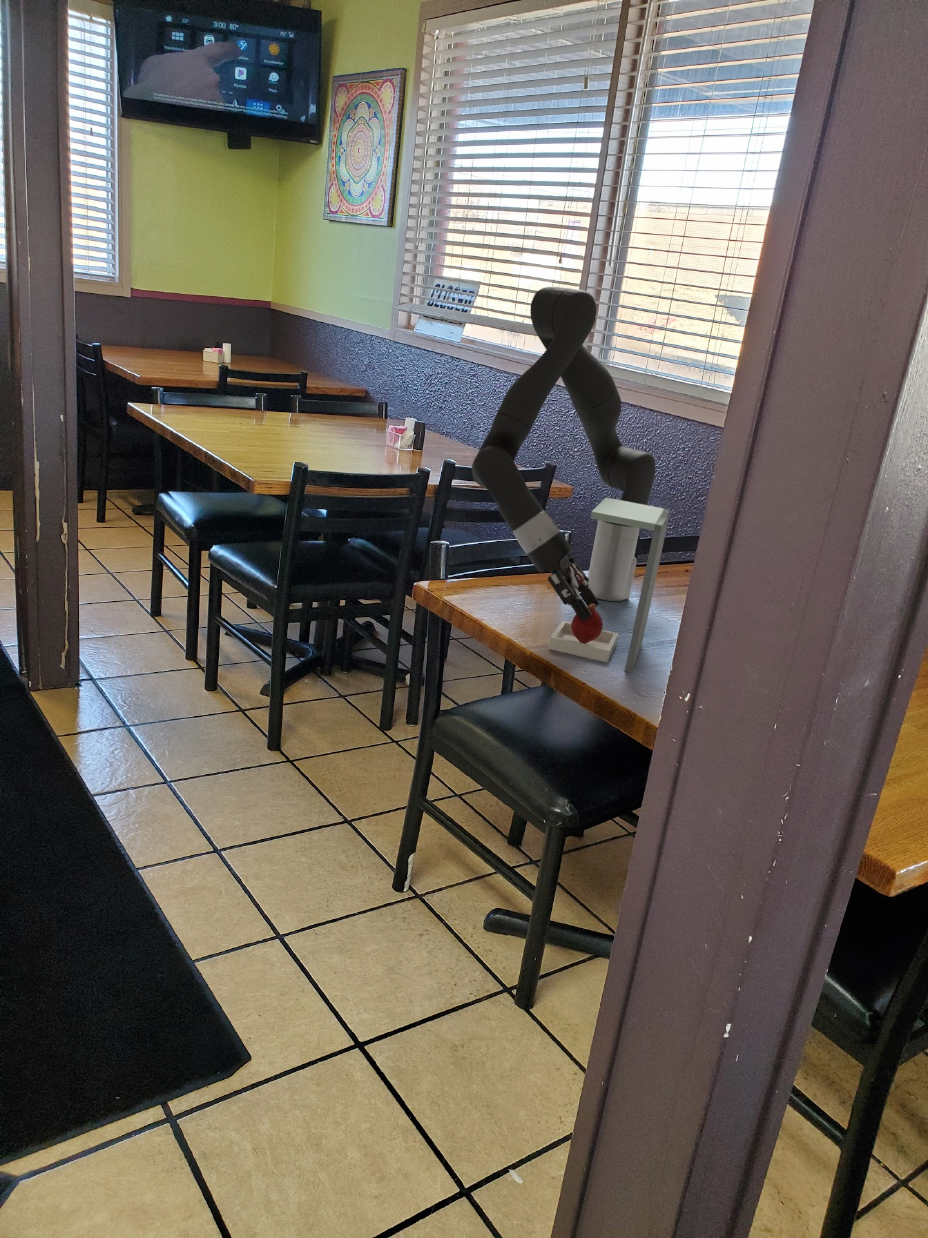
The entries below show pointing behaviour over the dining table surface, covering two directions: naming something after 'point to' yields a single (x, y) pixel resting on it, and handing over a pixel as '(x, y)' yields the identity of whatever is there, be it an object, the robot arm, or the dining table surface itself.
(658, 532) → the inverted l bracket
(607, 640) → the tray
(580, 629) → the onion
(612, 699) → the dining table surface
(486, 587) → the dining table surface
